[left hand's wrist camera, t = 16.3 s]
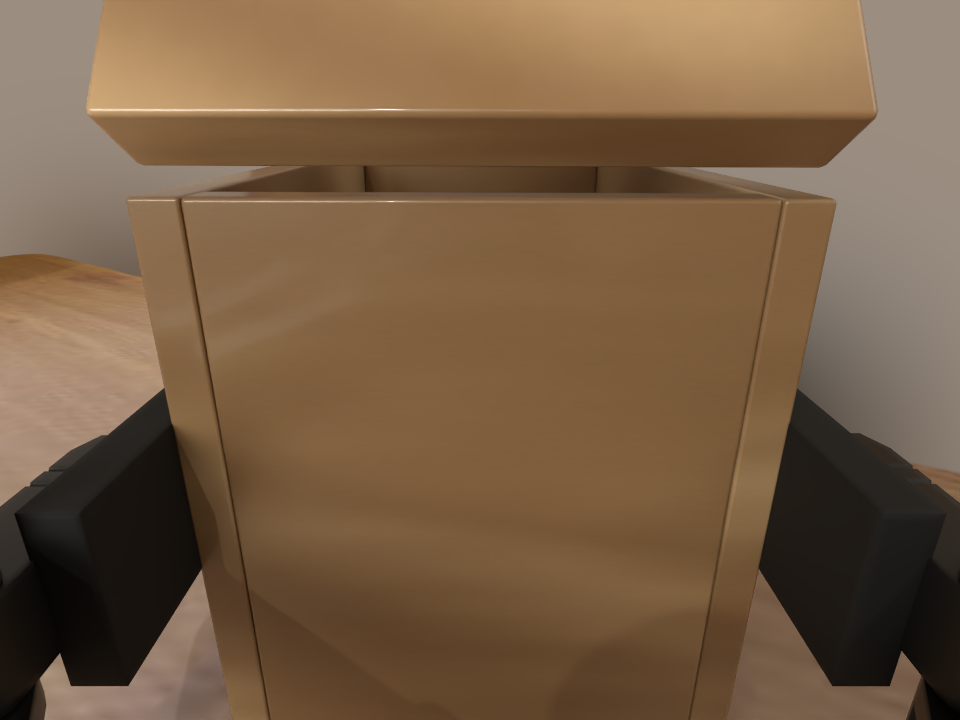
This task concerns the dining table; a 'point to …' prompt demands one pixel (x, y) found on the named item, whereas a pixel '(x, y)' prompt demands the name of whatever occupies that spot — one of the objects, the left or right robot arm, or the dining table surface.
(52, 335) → the dining table surface
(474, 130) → the lid
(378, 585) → the chest
